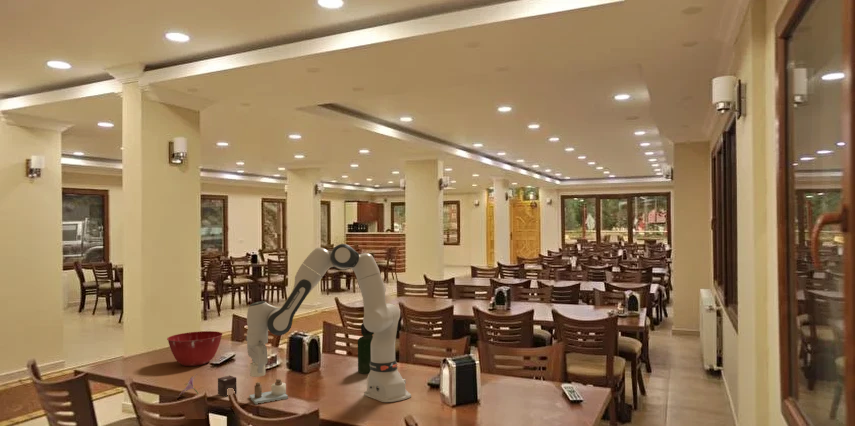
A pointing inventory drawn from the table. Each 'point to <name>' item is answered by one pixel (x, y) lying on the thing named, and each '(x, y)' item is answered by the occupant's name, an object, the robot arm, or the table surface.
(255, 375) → the ring
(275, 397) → the stand
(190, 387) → the lily
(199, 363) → the mixing bowl
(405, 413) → the table surface
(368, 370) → the spray bottle
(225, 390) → the box
